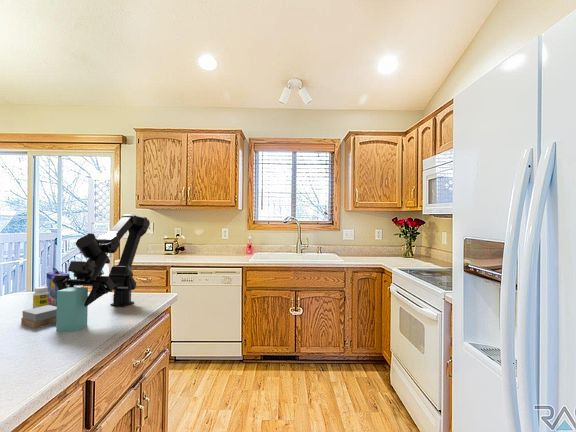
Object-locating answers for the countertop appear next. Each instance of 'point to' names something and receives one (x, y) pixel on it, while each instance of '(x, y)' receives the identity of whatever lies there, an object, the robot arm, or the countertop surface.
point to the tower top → (40, 313)
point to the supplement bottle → (40, 297)
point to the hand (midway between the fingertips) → (71, 305)
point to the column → (71, 309)
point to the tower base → (39, 323)
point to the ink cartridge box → (53, 286)
